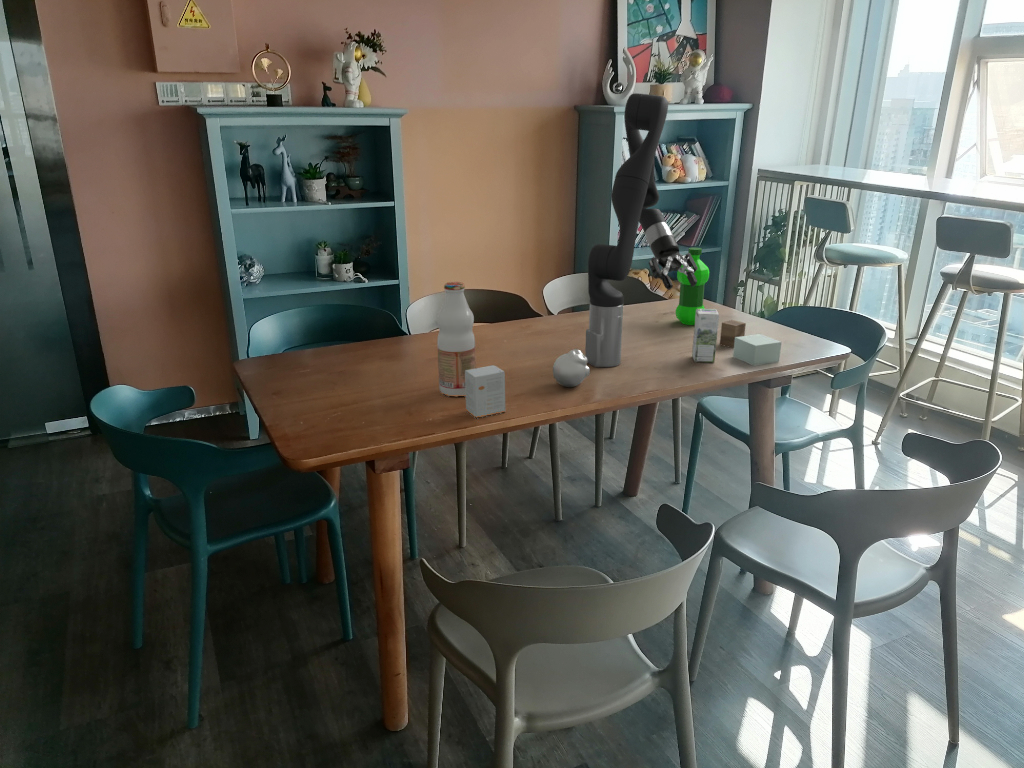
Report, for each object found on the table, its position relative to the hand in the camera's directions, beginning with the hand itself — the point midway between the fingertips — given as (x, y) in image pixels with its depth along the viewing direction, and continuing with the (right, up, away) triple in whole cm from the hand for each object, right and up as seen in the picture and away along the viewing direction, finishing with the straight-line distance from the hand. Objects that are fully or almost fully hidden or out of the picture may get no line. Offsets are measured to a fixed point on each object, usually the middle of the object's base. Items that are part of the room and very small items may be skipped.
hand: (682, 286), depth 218 cm
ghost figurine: (-35, -29, -24) cm, 51 cm away
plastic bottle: (+10, -8, +34) cm, 36 cm away
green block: (+20, -21, -3) cm, 30 cm away
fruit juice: (-64, -31, -27) cm, 76 cm away
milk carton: (+5, -22, -4) cm, 22 cm away
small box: (-56, -35, -40) cm, 78 cm away
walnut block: (+17, -17, +10) cm, 26 cm away
